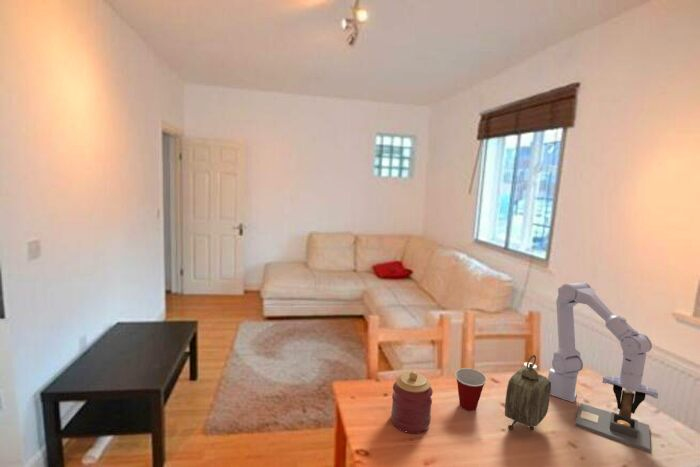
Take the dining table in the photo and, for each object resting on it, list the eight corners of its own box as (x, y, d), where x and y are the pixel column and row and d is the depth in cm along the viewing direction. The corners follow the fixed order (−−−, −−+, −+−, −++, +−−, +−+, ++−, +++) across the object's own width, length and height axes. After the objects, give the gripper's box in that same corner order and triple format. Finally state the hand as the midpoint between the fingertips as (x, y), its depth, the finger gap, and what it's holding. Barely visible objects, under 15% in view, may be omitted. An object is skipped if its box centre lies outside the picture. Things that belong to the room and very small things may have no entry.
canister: (434, 416, 131) (437, 368, 128) (424, 439, 119) (428, 386, 116) (397, 406, 136) (400, 359, 133) (385, 426, 124) (388, 376, 122)
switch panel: (574, 425, 129) (576, 415, 128) (580, 405, 141) (581, 396, 140) (649, 452, 117) (651, 441, 116) (648, 427, 129) (650, 418, 128)
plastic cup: (450, 411, 134) (453, 379, 132) (454, 395, 144) (456, 365, 142) (483, 419, 130) (486, 386, 128) (484, 402, 140) (487, 371, 138)
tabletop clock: (520, 412, 135) (527, 345, 131) (547, 424, 129) (556, 354, 125) (502, 430, 125) (509, 358, 121) (530, 444, 119) (539, 368, 115)
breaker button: (616, 426, 126) (617, 423, 126) (617, 421, 129) (617, 418, 129) (630, 431, 124) (630, 428, 124) (630, 425, 127) (630, 423, 127)
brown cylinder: (618, 418, 126) (622, 392, 124) (618, 413, 128) (622, 388, 127) (630, 422, 124) (634, 396, 123) (630, 417, 126) (634, 392, 125)
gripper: (604, 368, 125) (598, 406, 127) (661, 384, 116) (654, 424, 118) (605, 360, 130) (600, 397, 132) (660, 375, 122) (653, 414, 124)
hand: (625, 409), depth 126 cm, fingers closed on brown cylinder, 3 cm apart
